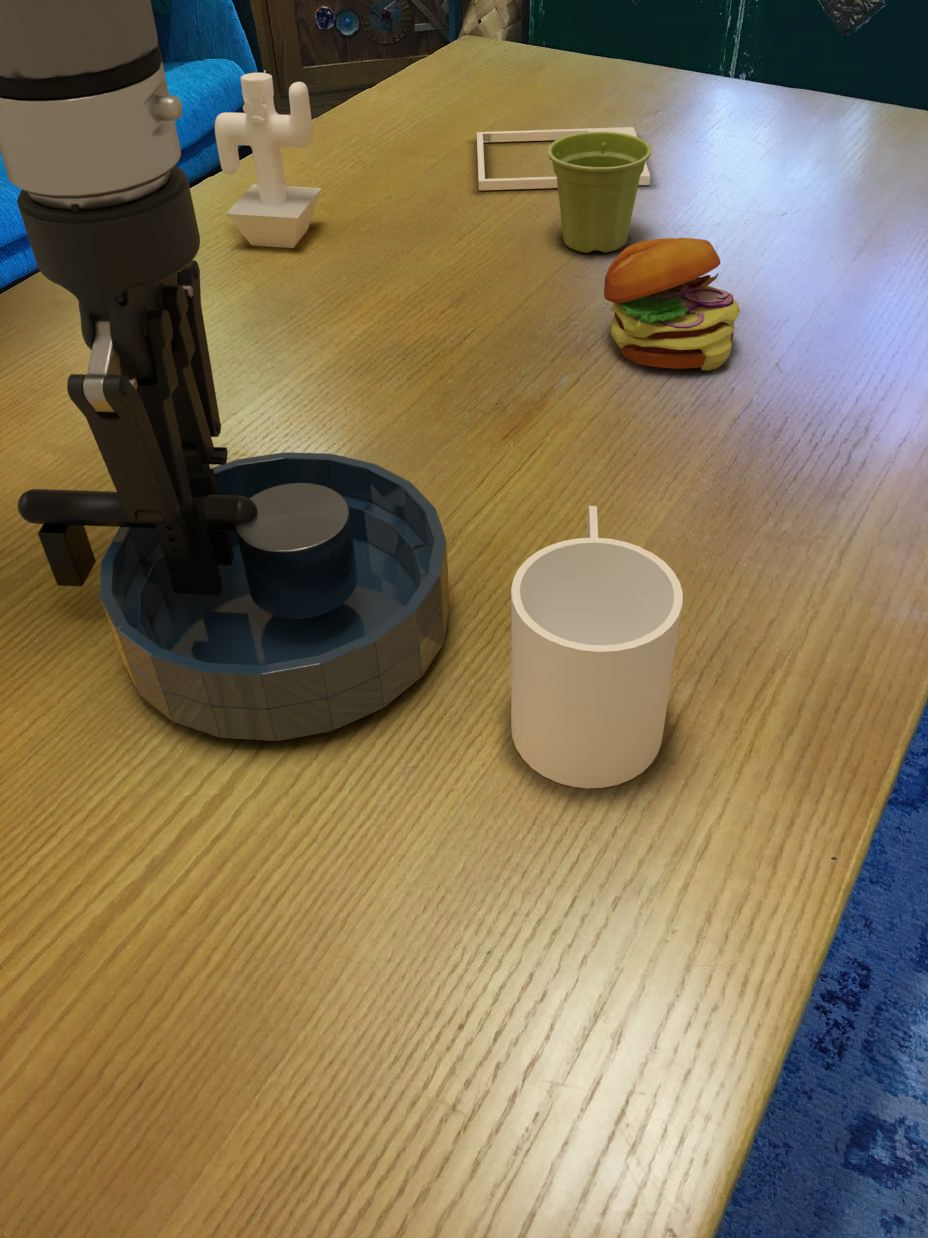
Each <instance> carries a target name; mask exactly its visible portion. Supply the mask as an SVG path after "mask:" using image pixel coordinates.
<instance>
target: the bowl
mask: <svg viewBox="0 0 928 1238" xmlns="http://www.w3.org/2000/svg"><path fill="white" fill-rule="evenodd" d="M210 469H214V473H215V477H216V482H217V486H218V490H219V494H220V495H233V496H245V497H247V498H249V499H250V498H251V497H253V496H254V495H256V494H258V493H260V492H262V491H264V490H266V489H269V488H272V487H275V486H279V485H284V484H292V483H310V484H317V485H321V486H325V487H327V488H330V489H332V490H334V491H335V492H337V493H338V494H340V495H341V496H342V497H343V498H344V500H345V501H346V503H347V505H348V508H349V514H350V522H351V530H352V538H353V545H354V553H355V561H356V569H357V585H356V587H355V590H354V591H353V593H352V595H351V596H350V597H349V598H348V599H347V600H346V601H345V602H344V603H343V604H341V605H340V606H339V607H337V608H335V609H334V610H332V611H329V612H327V613H324V614H322V615H318V616H315V617H309V618H301V619H291V618H283V617H278V616H274V615H272V614H269V613H267V612H265V611H264V610H262V609H261V608H259V607H258V606H257V605H256V604H255V602H254V601H253V600H252V598H251V595H250V592H249V587H248V583H247V578H246V574H245V569H244V564H243V560H242V555H241V551H240V546H239V542H238V537H237V533H236V531H228V533H229V537H230V541H231V545H232V550H233V554H234V559H233V562H232V565H218V569H219V573H220V577H221V581H222V585H223V587H222V590H221V592H220V595H206V594H183V593H175V592H174V589H173V586H172V582H171V579H170V575H169V572H168V568H167V565H166V562H165V558H164V555H163V551H162V548H161V545H160V541H159V538H158V534H157V531H156V528H135V527H118V529H117V531H116V532H115V535H114V536H113V538H112V540H111V542H110V544H109V546H108V547H107V550H106V552H105V554H104V555H103V557H102V559H101V561H100V578H99V599H100V602H101V605H102V608H103V611H104V614H105V616H106V619H107V622H108V624H109V627H110V630H111V633H112V635H113V638H114V641H115V645H116V646H117V650H118V652H119V655H120V658H121V661H122V663H123V665H124V667H125V670H126V671H127V673H128V675H129V677H130V679H131V681H132V684H133V686H134V687H135V689H136V691H137V693H138V695H139V697H141V698H142V699H144V700H145V701H146V702H147V703H149V704H150V705H151V706H152V707H153V708H155V710H157V711H159V712H160V713H161V714H163V715H164V716H165V717H166V718H168V719H169V720H170V721H171V722H173V723H175V724H178V725H181V726H185V727H187V728H190V729H193V730H196V731H198V732H202V733H204V734H206V735H207V734H208V735H211V736H213V737H216V738H220V739H231V740H232V739H236V740H251V741H252V740H253V741H255V740H256V741H270V742H272V741H273V742H280V741H286V740H291V739H297V738H303V737H307V736H312V735H319V734H324V733H328V732H333V731H335V730H338V729H340V728H342V727H344V726H346V725H350V724H351V723H353V722H356V721H357V720H360V719H363V718H365V717H367V716H369V715H371V714H374V713H376V712H378V711H380V710H383V708H386V707H387V706H388V705H389V704H390V703H392V702H393V701H394V700H395V699H397V698H398V697H399V696H400V695H402V694H403V693H404V692H406V690H407V689H409V688H410V687H412V686H413V685H414V684H415V683H417V682H418V680H420V679H421V678H422V677H423V676H424V674H425V673H426V671H427V670H428V668H429V667H430V665H431V663H432V662H433V660H434V659H435V657H436V656H437V653H439V651H440V649H441V648H442V646H443V645H444V642H445V639H446V632H447V628H448V627H447V626H448V620H449V615H450V607H451V606H450V605H451V603H450V587H449V584H450V583H449V565H448V548H447V537H446V535H445V533H444V528H443V526H442V523H441V520H440V516H439V514H438V510H437V509H436V507H435V506H434V505H433V504H432V503H431V502H430V501H429V500H428V499H427V497H425V496H424V495H423V494H422V492H421V491H420V490H419V489H418V488H417V487H416V486H415V485H414V484H413V483H412V482H410V481H409V480H407V479H405V478H403V477H402V476H400V475H397V474H396V473H394V472H393V471H390V470H388V469H386V468H384V467H383V466H380V465H378V464H377V463H376V464H375V463H373V462H368V461H365V460H360V459H357V458H356V459H355V458H352V457H347V456H343V455H339V454H334V453H322V452H321V453H320V452H294V451H293V452H291V451H289V452H288V451H286V452H278V453H271V454H263V455H257V456H250V457H244V458H243V457H242V458H238V459H234V460H231V461H227V462H226V464H225V465H216V466H213V467H210Z"/></svg>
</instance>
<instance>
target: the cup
mask: <svg viewBox="0 0 928 1238" xmlns="http://www.w3.org/2000/svg"><path fill="white" fill-rule="evenodd" d="M598 521H599V520H598V508H597V505H588V507H587V521H586V535H585V537H577V538H571V539H566V540H562V541H559V542H556V543H553V544H550V545H547V546H546V547H543V548H541V549H539V550H537V551H536V552H535V553H533V554H531V555H530V556H529V557H528V558H527V559H525V561H524V562H523V563H522V564H521V565H520V566H519V567H518V569H517V571H516V572H515V574H514V576H513V578H512V584H511V589H510V598H511V599H510V606H511V607H510V615H511V616H510V627H511V629H510V654H511V655H510V664H511V665H510V668H511V669H510V677H511V678H510V682H511V683H510V704H511V705H510V728H511V738H512V741H513V744H514V746H515V749H516V751H517V752H518V754H519V756H520V757H521V759H522V760H523V761H524V762H525V763H526V764H527V765H528V766H529V767H530V768H531V769H532V770H533V771H535V772H537V774H539V775H541V776H542V777H544V778H546V779H549V780H551V781H552V782H555V783H557V784H560V785H565V786H567V787H568V786H569V787H572V788H581V789H604V788H609V787H614V786H618V785H621V784H624V783H626V782H628V781H631V780H633V779H634V778H636V777H638V776H639V775H640V774H642V773H643V772H645V771H646V769H648V768H649V767H650V766H651V765H652V764H653V762H654V760H655V759H656V758H657V756H658V754H659V753H660V749H661V746H662V742H663V737H664V730H665V724H666V718H667V717H666V715H667V710H668V703H669V697H670V690H671V683H672V676H673V671H674V663H675V657H676V651H677V645H678V644H677V643H678V637H679V630H680V623H681V617H682V612H683V611H682V610H683V604H684V603H683V601H684V600H683V599H684V593H683V589H682V584H681V581H680V580H679V578H678V576H677V575H676V573H675V572H674V570H673V569H672V568H671V567H670V566H669V565H668V564H667V563H666V562H665V561H664V560H663V559H662V558H660V557H658V556H657V555H656V554H654V553H653V552H651V551H649V550H647V549H645V548H643V547H642V546H639V545H636V544H633V543H630V542H628V541H624V540H619V539H613V538H604V537H599V523H598Z"/></svg>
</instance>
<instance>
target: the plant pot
mask: <svg viewBox="0 0 928 1238" xmlns="http://www.w3.org/2000/svg"><path fill="white" fill-rule="evenodd" d="M651 155H652V147H651V145H650V144H649V143H648V142H647V141H646V140H644V139H643V138H640V137H638V136H637V137H635V136H632V135H628V134H621V133H617V132H585V133H578V134H573V135H569V136H566V137H562V138H560V139H558V140H553V141H552V142H551V144H550V145H549V146H548V148H547V157H548V159H549V160H550V161H551V162H552V168H553V172H554V174H555V177H557V185H558V188H557V193H558V201H559V202H558V203H559V210H560V211H559V212H560V220H561V231H562V238H563V242H564V244H565V245H566V246H567V247H568V248H570V249H572V250H574V251H577V252H581V253H587V254H589V253H591V252H593V251H600V252H602V253H610V252H613V251H616V250H619V249H621V248H622V247H624V246H625V245H626V244H627V241H628V237H629V232H630V227H631V223H632V222H631V221H632V216H633V211H634V207H635V203H636V202H635V201H636V198H637V192H638V188H639V185H638V184H639V179H640V175H641V174H642V172H643V170H644V166H645V162H646V163H647V161H648V160H649V159H650V157H651Z"/></svg>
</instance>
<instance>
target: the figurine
mask: <svg viewBox="0 0 928 1238" xmlns="http://www.w3.org/2000/svg"><path fill="white" fill-rule="evenodd" d="M273 81H274V80H273V76H272V74H270V73H268V72H250V73H245V74H242V75H241V76H240V85H241V95H242V97H243V99H242V100H243V102H244V104H243V105H242V110H243V112H232V111H231V112H230V111H225V112H221V113H219V114H218V115H217V116H216V118H215V121H214V135H215V141H216V147H217V153H218V157H219V163H220V168H221V170H222V172H223V173H224V174H226V175H233V174H235V173H237V172H238V171H239V170H240V166H241V161H240V155H239V146H249V147H250V148H251V152H252V157H253V163H254V164H253V165H254V168H255V175H256V181H257V183H256V184H255V183H253V184H251V185H250V186H249V188H248V189H247V190H246V191H244V193H243V194H242V195H241V196H240V197H239V198H238V199H237V201H235V203H233V205H232V206H231V207H230V208H229V209H228V210H227V212H225V215H226V216H227V217H228V218H229V220H230V222H232V223H233V225H234V226H235V227H236V228H237V230H238V231H239V232H240V233H241V234H242V236H243V237H244V238H245V239H246V240H247V242H248V243H249V244H250V245H251V246H253V247H254V246H256V247H268V248H269V247H270V248H282V249H283V248H285V249H294V248H295V247H296V246H297V245H298V243H299V242H300V240H301V239H302V238H303V236H305V234H306V233H307V231H308V230H309V227H310V224H311V222H312V218H313V215H314V213H315V210H316V206H317V203H318V201H319V197H320V194H321V191H322V187H309V186H308V187H307V186H293V185H292V186H291V185H287V184H286V178H285V171H284V164H283V156H282V150H281V148H288V149H289V148H290V149H293V148H294V149H304V148H307V147H308V146H309V145H310V144H311V142H312V140H313V119H312V112H311V103H310V95H309V89H308V86H307V84H306V83H304V82H303V81H296V82H295V81H294V82H293V83H291V85H290V86H289V88H288V99H289V100H288V101H289V108H290V111H289V112H290V114H280V113H278V112H277V111H276V108H275V102H274V96H275V92H274V91H275V90H274V83H273Z"/></svg>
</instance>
